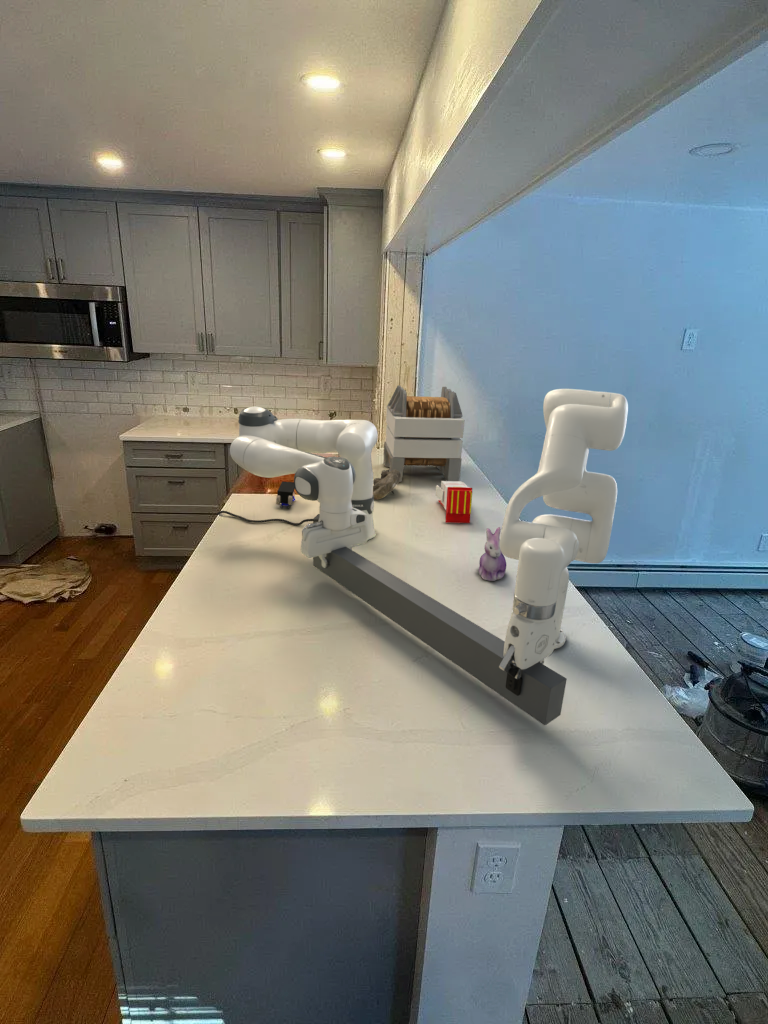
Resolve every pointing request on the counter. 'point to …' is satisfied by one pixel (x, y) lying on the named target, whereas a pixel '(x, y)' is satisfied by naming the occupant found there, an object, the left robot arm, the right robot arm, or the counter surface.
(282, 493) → the figurine character
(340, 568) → the bar
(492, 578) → the figurine
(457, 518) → the toy
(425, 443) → the grey slatted crate stand
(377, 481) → the fossil
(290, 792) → the counter surface
